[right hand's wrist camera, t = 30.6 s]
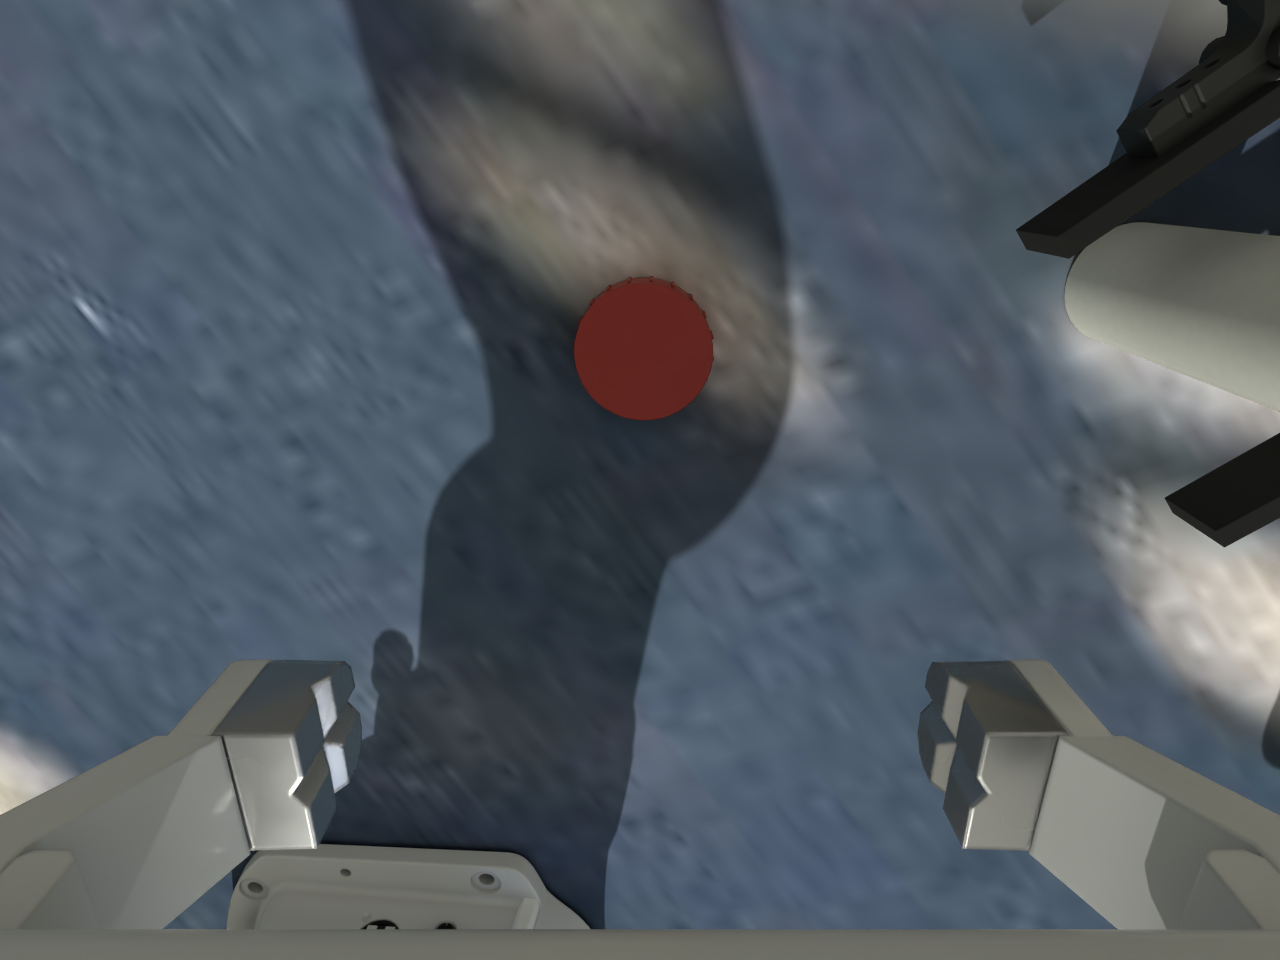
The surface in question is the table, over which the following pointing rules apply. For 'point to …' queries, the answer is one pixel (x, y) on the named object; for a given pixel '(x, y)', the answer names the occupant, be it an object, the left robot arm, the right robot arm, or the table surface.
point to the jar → (1186, 302)
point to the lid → (643, 349)
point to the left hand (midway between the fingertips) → (1121, 392)
